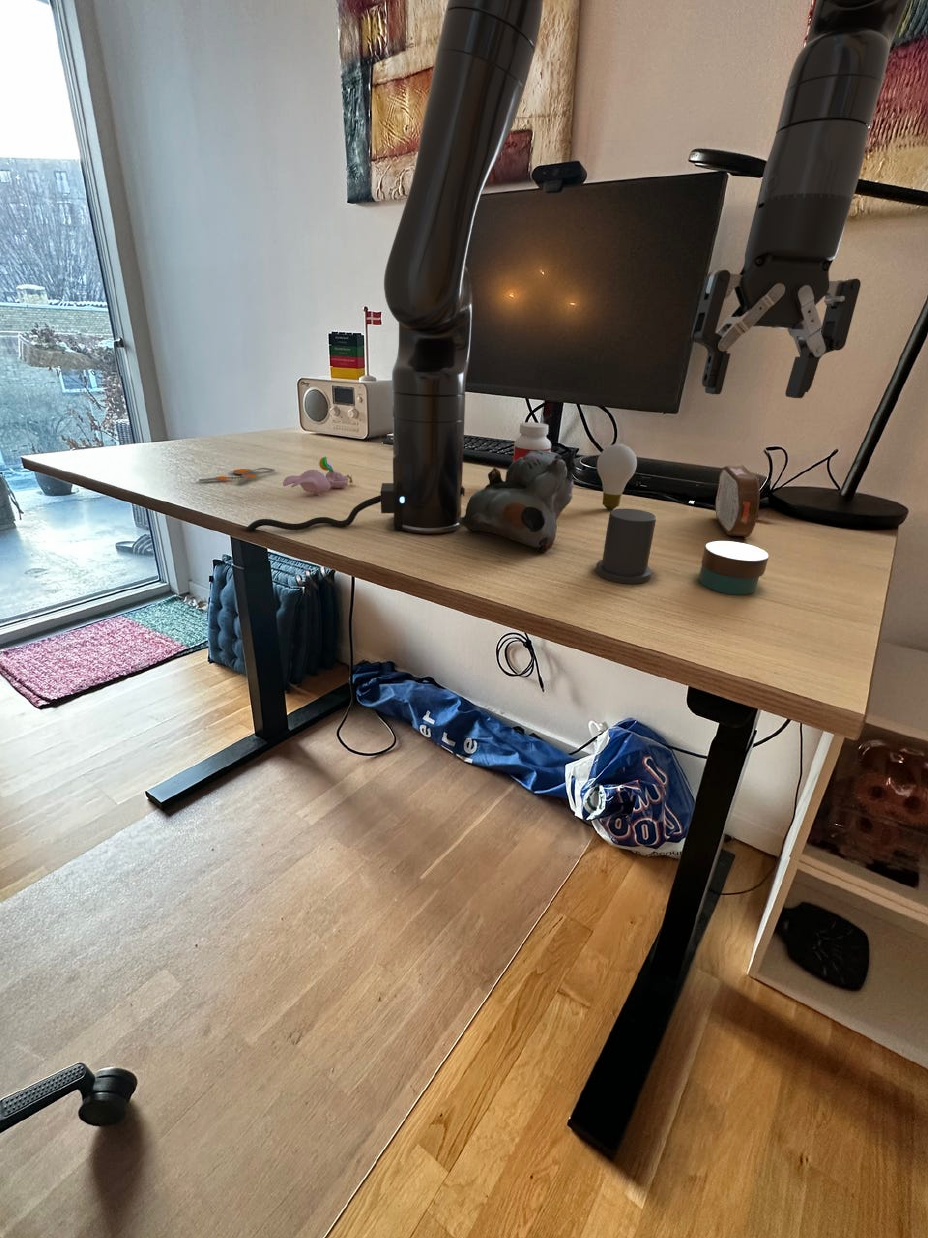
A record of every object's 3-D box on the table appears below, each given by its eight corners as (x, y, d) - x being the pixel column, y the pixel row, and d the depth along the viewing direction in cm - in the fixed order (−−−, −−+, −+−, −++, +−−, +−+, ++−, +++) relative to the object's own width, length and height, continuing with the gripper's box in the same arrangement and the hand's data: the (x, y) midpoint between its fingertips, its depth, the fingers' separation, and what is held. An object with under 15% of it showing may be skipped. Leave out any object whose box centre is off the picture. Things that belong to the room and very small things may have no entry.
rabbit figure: (330, 490, 101) (270, 494, 88) (331, 454, 99) (270, 453, 86) (360, 495, 99) (304, 500, 86) (362, 458, 97) (305, 458, 84)
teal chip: (713, 594, 62) (717, 577, 61) (689, 573, 68) (693, 557, 67) (766, 594, 63) (771, 577, 62) (738, 574, 68) (742, 558, 67)
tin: (752, 545, 78) (768, 482, 74) (727, 542, 79) (742, 480, 75) (729, 514, 91) (742, 460, 88) (708, 513, 92) (720, 458, 88)
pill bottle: (507, 486, 103) (511, 421, 98) (540, 486, 104) (546, 421, 99) (515, 495, 97) (521, 426, 92) (550, 495, 98) (558, 427, 93)
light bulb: (587, 511, 90) (596, 445, 86) (594, 502, 95) (603, 439, 91) (626, 516, 88) (637, 449, 84) (631, 507, 93) (642, 443, 89)
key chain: (249, 468, 108) (249, 463, 107) (281, 472, 105) (280, 468, 105) (195, 481, 97) (194, 476, 97) (229, 487, 95) (228, 482, 94)
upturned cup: (604, 584, 64) (614, 522, 61) (589, 563, 69) (597, 506, 66) (659, 584, 64) (671, 523, 61) (639, 564, 70) (649, 507, 67)
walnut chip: (717, 578, 61) (722, 560, 60) (691, 556, 67) (695, 540, 66) (776, 578, 62) (781, 561, 61) (744, 557, 68) (749, 540, 67)
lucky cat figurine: (452, 523, 81) (494, 430, 80) (528, 559, 83) (571, 468, 82) (464, 524, 66) (515, 410, 65) (556, 567, 68) (608, 457, 67)
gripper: (851, 211, 55) (798, 395, 62) (706, 200, 53) (669, 388, 61) (912, 196, 48) (844, 403, 55) (748, 182, 47) (700, 396, 54)
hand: (753, 395), depth 58 cm, fingers open, 8 cm apart
